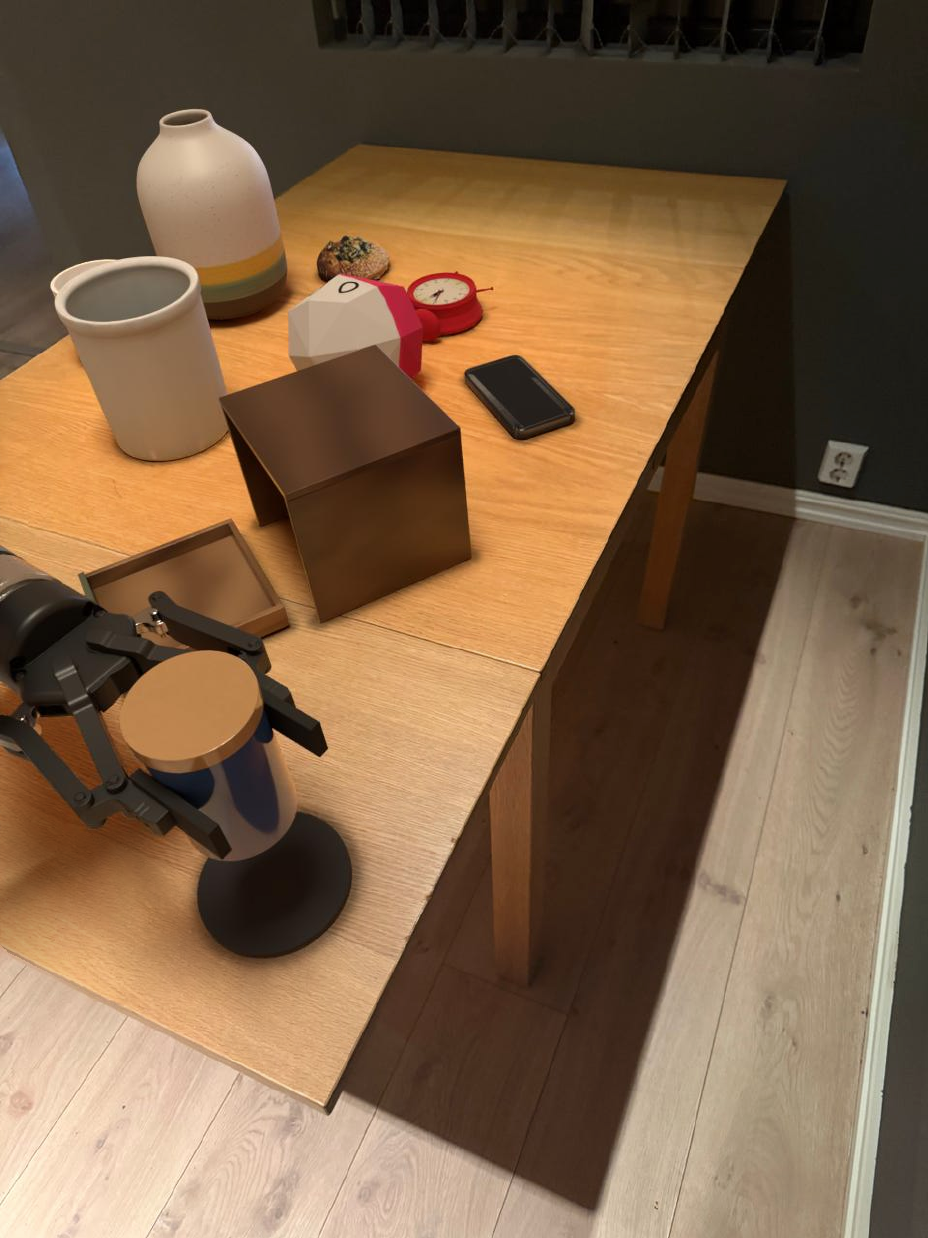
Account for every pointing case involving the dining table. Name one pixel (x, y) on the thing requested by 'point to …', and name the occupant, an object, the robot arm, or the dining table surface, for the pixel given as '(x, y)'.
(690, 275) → the dining table surface
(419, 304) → the alarm clock
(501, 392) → the phone
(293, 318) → the decorative object
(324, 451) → the cabinet
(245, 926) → the coaster
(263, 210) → the vase
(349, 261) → the bread roll
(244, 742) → the jar
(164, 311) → the utensil holder
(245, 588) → the drawer
